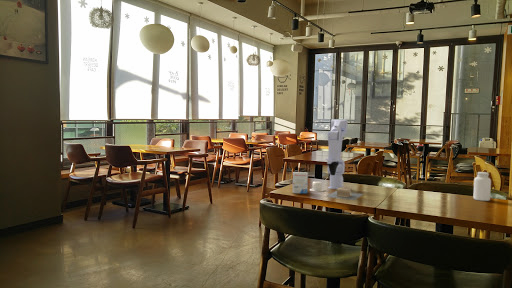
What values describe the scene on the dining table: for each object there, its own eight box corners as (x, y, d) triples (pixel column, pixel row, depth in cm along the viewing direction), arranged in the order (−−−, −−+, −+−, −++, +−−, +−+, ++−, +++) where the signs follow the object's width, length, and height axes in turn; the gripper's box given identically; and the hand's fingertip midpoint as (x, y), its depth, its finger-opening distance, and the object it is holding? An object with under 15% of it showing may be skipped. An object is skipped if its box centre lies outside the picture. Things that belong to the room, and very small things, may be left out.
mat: (336, 191, 228) (336, 190, 228) (363, 194, 220) (363, 193, 220) (324, 197, 211) (324, 196, 211) (354, 201, 203) (354, 200, 203)
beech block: (340, 187, 219) (337, 188, 212) (351, 188, 216) (347, 190, 209) (340, 194, 219) (336, 196, 213) (351, 195, 216) (347, 197, 210)
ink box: (307, 192, 226) (307, 171, 225) (307, 193, 221) (307, 173, 220) (292, 191, 227) (292, 171, 226) (292, 193, 222) (292, 172, 221)
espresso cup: (312, 188, 237) (313, 180, 237) (326, 190, 233) (327, 182, 232) (307, 190, 229) (307, 182, 229) (321, 192, 225) (321, 184, 225)
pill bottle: (487, 198, 215) (489, 172, 214) (491, 201, 207) (493, 173, 206) (471, 197, 217) (473, 171, 216) (474, 200, 210) (476, 173, 209)
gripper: (330, 150, 231) (330, 173, 232) (322, 152, 218) (321, 175, 219) (342, 151, 227) (341, 174, 228) (334, 152, 215) (333, 177, 216)
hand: (332, 175), depth 224 cm, fingers closed
